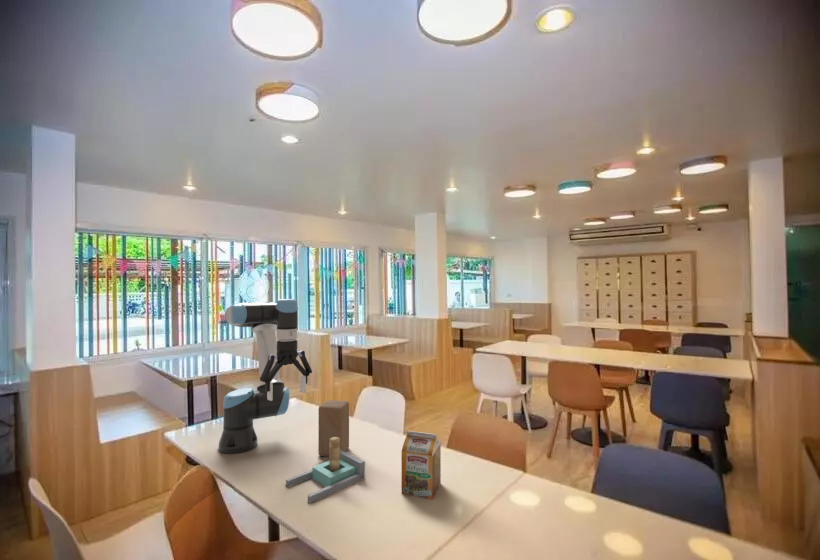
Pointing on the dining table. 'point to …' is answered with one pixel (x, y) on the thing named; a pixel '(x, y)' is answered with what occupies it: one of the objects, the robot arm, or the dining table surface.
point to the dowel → (334, 454)
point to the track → (336, 486)
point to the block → (333, 425)
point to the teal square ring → (328, 478)
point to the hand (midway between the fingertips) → (287, 396)
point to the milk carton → (421, 465)
